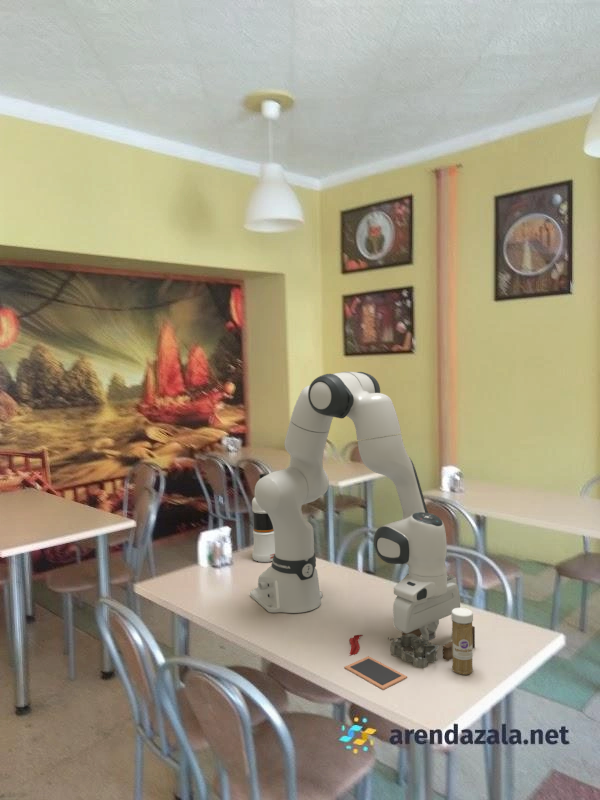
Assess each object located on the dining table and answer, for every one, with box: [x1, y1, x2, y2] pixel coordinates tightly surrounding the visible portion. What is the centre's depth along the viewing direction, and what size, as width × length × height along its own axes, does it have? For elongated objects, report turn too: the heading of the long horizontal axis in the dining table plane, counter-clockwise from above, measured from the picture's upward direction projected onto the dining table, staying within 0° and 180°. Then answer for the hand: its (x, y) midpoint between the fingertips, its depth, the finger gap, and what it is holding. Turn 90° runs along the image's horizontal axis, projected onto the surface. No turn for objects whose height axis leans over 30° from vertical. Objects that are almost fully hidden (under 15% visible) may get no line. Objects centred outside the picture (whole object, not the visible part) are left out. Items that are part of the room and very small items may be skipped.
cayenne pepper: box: [348, 634, 364, 657], centre depth 148 cm, size 12×5×2 cm, turn 150°
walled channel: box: [401, 625, 476, 662], centre depth 148 cm, size 14×10×5 cm
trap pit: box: [344, 655, 408, 691], centre depth 135 cm, size 12×8×1 cm, turn 38°
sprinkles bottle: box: [450, 607, 474, 676], centre depth 134 cm, size 5×5×13 cm
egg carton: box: [387, 634, 440, 668], centre depth 142 cm, size 11×8×4 cm
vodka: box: [251, 473, 275, 563], centre depth 213 cm, size 9×9×30 cm
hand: (428, 639), depth 145 cm, fingers closed
